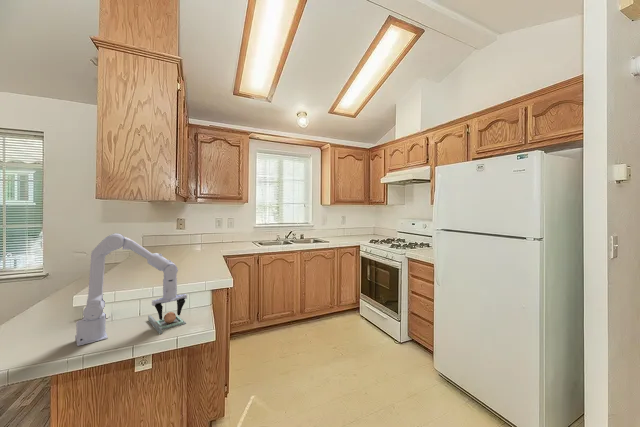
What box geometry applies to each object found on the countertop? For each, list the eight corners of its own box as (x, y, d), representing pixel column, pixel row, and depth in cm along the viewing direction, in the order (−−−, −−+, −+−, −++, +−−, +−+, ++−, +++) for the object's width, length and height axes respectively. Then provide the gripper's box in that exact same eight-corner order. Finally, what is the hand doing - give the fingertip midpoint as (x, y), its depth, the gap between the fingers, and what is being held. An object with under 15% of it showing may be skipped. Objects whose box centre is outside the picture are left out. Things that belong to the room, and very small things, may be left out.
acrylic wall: (159, 334, 116) (159, 328, 116) (148, 320, 130) (148, 315, 130) (162, 333, 116) (162, 327, 116) (150, 319, 131) (150, 314, 131)
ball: (165, 326, 123) (165, 315, 123) (162, 322, 127) (162, 312, 127) (177, 322, 127) (177, 312, 127) (174, 319, 130) (173, 309, 130)
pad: (159, 330, 119) (159, 328, 119) (153, 323, 127) (153, 320, 127) (186, 323, 127) (186, 321, 127) (178, 317, 134) (178, 314, 134)
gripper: (154, 293, 119) (154, 324, 119) (189, 287, 129) (189, 315, 129) (150, 290, 124) (150, 319, 124) (184, 284, 134) (184, 311, 134)
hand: (169, 317), depth 127 cm, fingers open, 7 cm apart
